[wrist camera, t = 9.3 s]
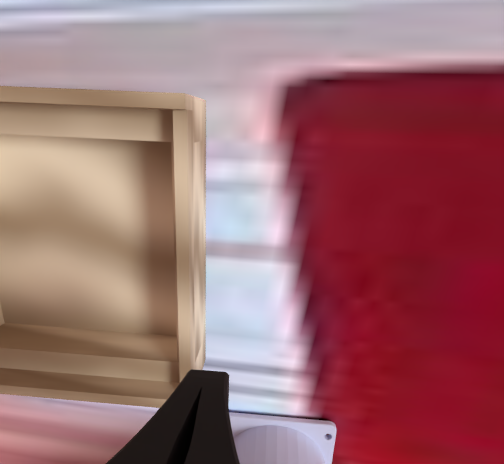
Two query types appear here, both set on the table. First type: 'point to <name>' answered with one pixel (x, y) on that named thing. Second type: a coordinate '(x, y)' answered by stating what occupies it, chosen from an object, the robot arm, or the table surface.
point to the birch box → (101, 243)
